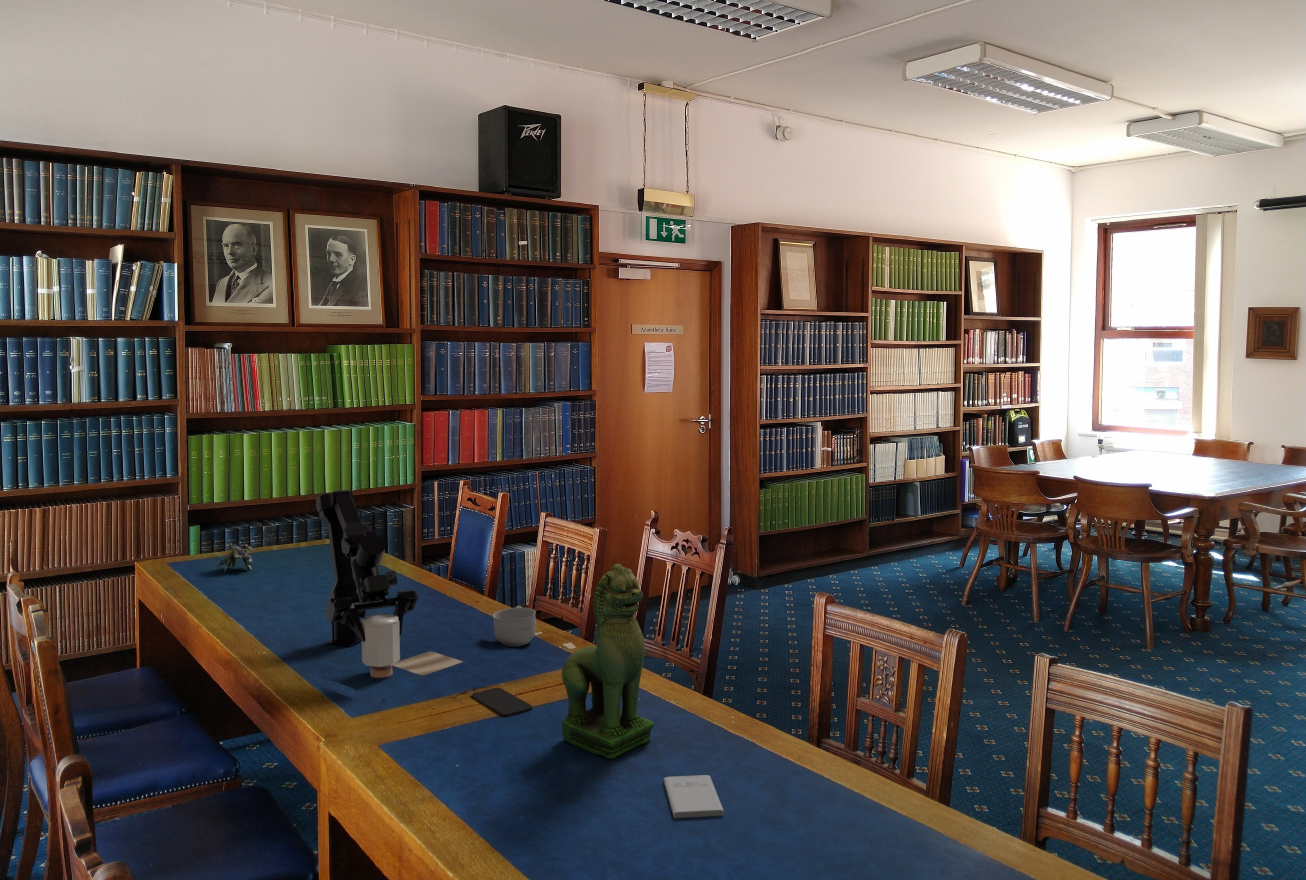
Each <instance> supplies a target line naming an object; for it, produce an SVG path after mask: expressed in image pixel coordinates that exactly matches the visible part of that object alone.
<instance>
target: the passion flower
mask: <svg viewBox="0 0 1306 880" xmlns="http://www.w3.org/2000/svg"><path fill="white" fill-rule="evenodd" d="M245 547H246V549H244V550H243V548H241V547H239V546H238V545H237V544H232V543H231V542H229V543H228V546H227V548H228V549H229V550H230V552H228V556H227V557H224V558H220V557H218V555H217V554H214V561H217V559H218V560H220V562H219V563H218V565H217V567H216V568H219V567H221V565H222V566H224V571H223V573H226V571H227V569H228V568H230V567H231V568H232V569H233V568H234V567H236V563H237V559H240V560H241V559H242V561H243V563H244V565H245V567H246V569H247V570H248V571H252V570H253V569H252V566H251V565H252V564H253V561H254V559H253V558H252V557H251V555H250V554H248V551H251V553H254V549H253V548H252V547H251V546H249V544H247V543H245Z"/></svg>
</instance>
